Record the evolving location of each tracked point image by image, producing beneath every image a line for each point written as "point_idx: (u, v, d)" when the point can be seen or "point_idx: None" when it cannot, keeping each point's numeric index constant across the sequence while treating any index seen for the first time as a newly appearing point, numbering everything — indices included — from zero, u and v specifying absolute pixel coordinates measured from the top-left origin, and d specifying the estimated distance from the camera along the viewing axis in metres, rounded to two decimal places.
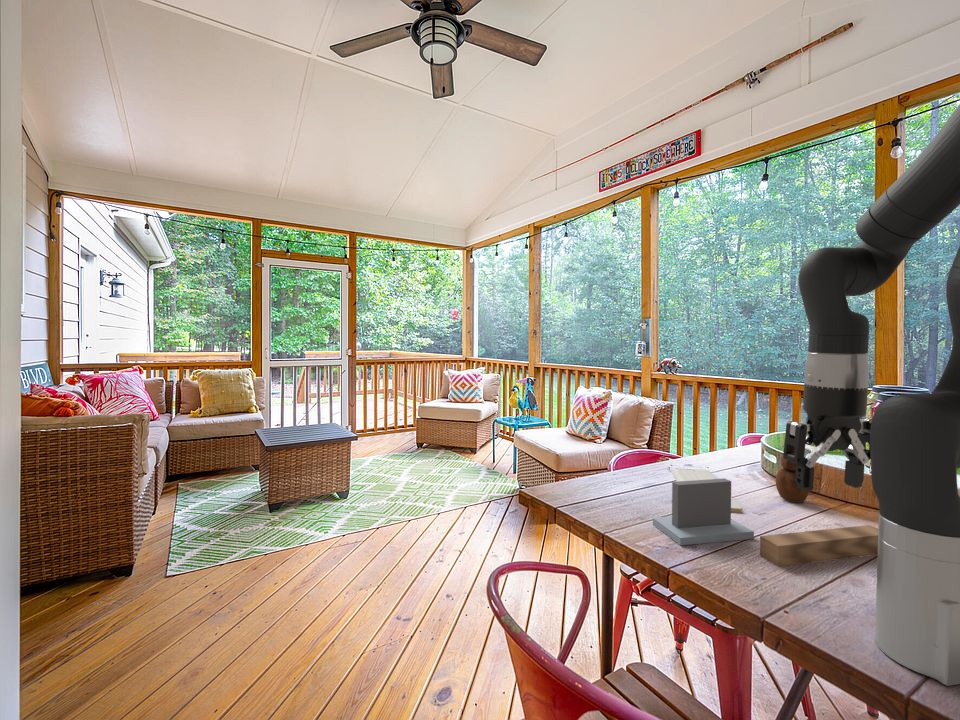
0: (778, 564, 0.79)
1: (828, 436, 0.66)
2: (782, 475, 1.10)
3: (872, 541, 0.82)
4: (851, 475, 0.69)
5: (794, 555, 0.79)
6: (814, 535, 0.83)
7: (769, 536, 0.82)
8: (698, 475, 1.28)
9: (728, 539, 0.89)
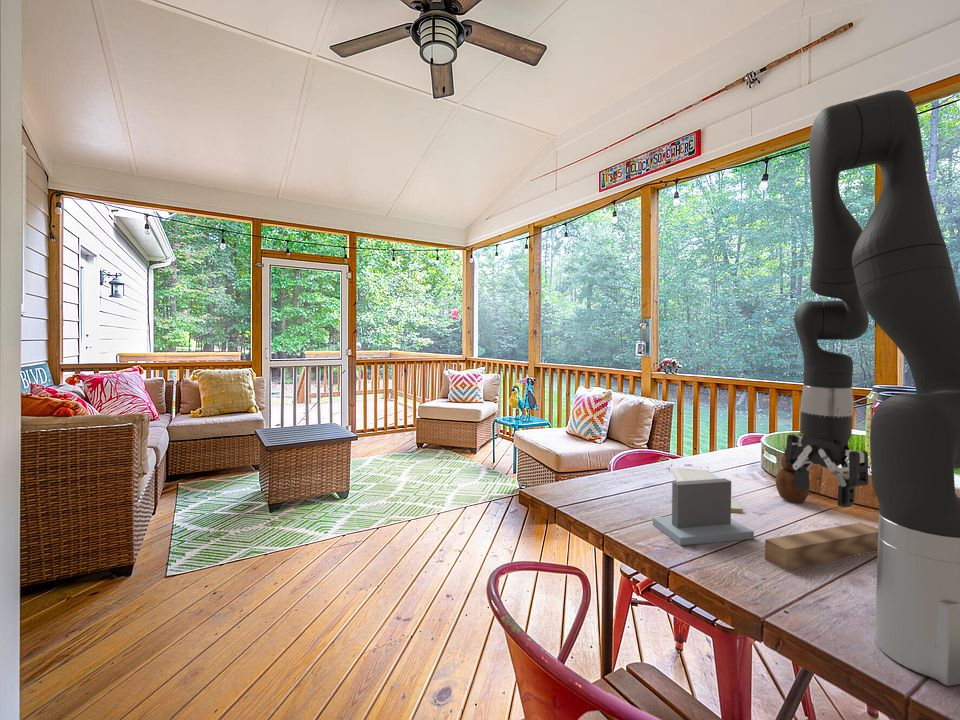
0: (786, 568, 0.78)
1: None
2: (782, 475, 1.10)
3: (868, 539, 0.83)
4: (803, 481, 0.87)
5: (800, 557, 0.79)
6: (815, 535, 0.82)
7: (774, 539, 0.81)
8: (698, 475, 1.28)
9: (728, 539, 0.89)
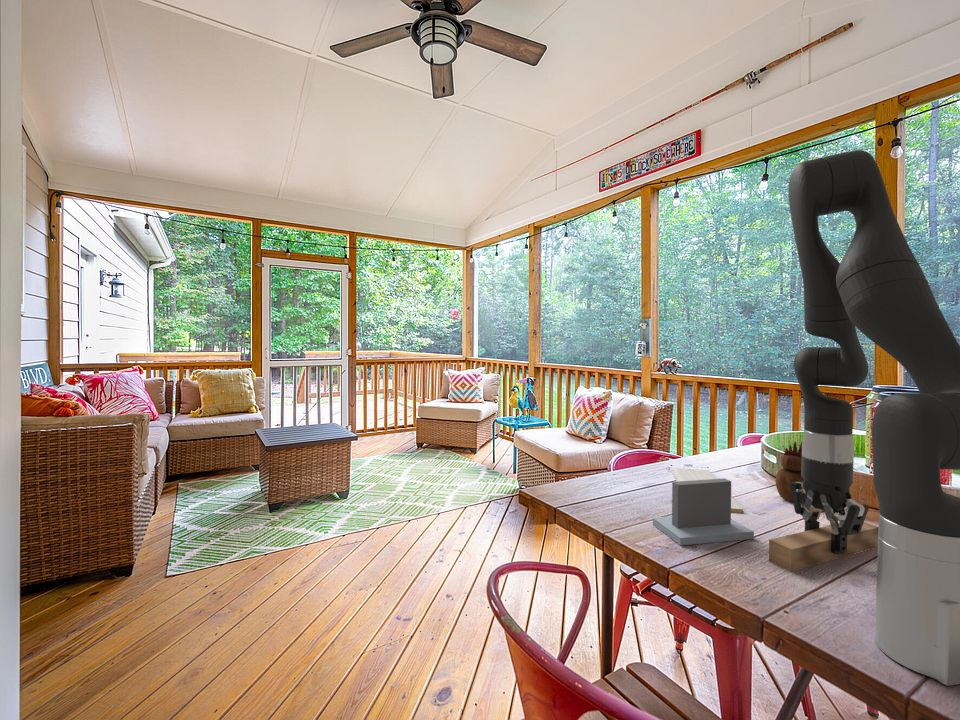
0: (791, 568, 0.77)
1: None
2: (782, 475, 1.10)
3: (865, 536, 0.84)
4: None
5: (804, 557, 0.78)
6: (816, 534, 0.82)
7: (777, 539, 0.81)
8: (698, 475, 1.28)
9: (728, 539, 0.89)
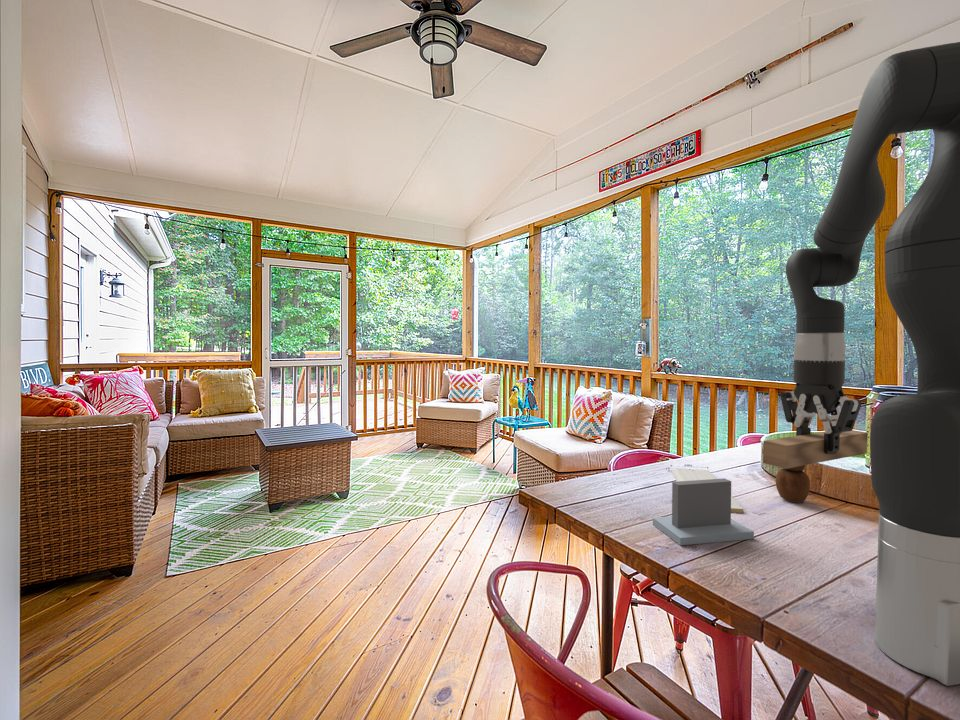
0: (786, 464, 0.76)
1: None
2: (782, 475, 1.10)
3: (855, 440, 0.84)
4: None
5: (798, 454, 0.78)
6: (808, 437, 0.82)
7: (771, 440, 0.80)
8: (698, 475, 1.28)
9: (728, 539, 0.89)
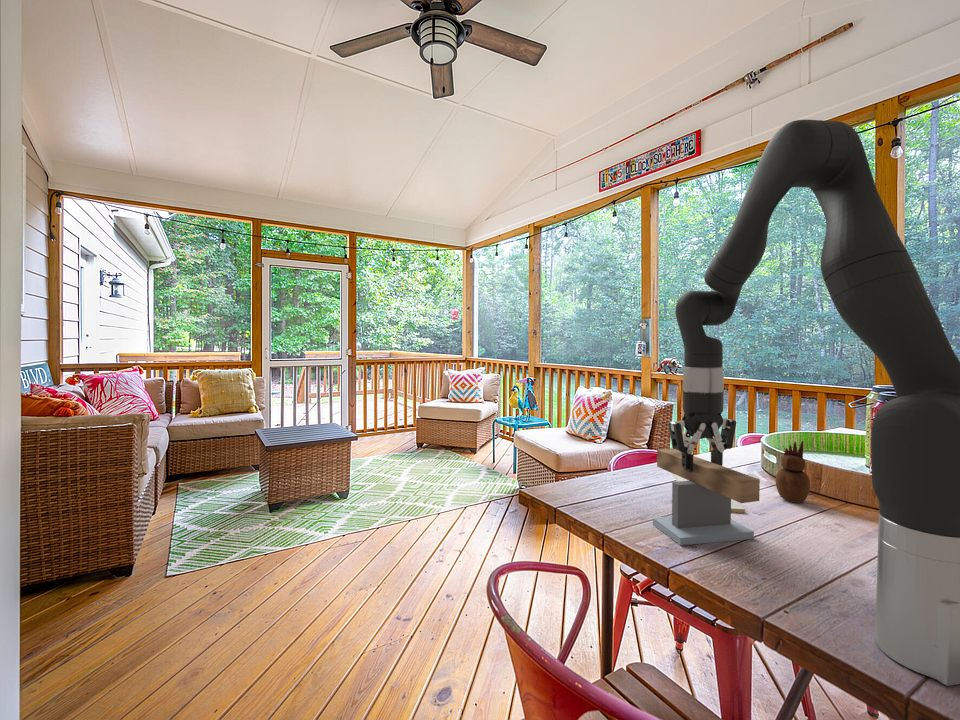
0: (758, 497, 0.82)
1: None
2: (782, 475, 1.10)
3: None
4: None
5: None
6: (708, 465, 0.91)
7: (737, 478, 0.82)
8: None
9: (728, 539, 0.89)
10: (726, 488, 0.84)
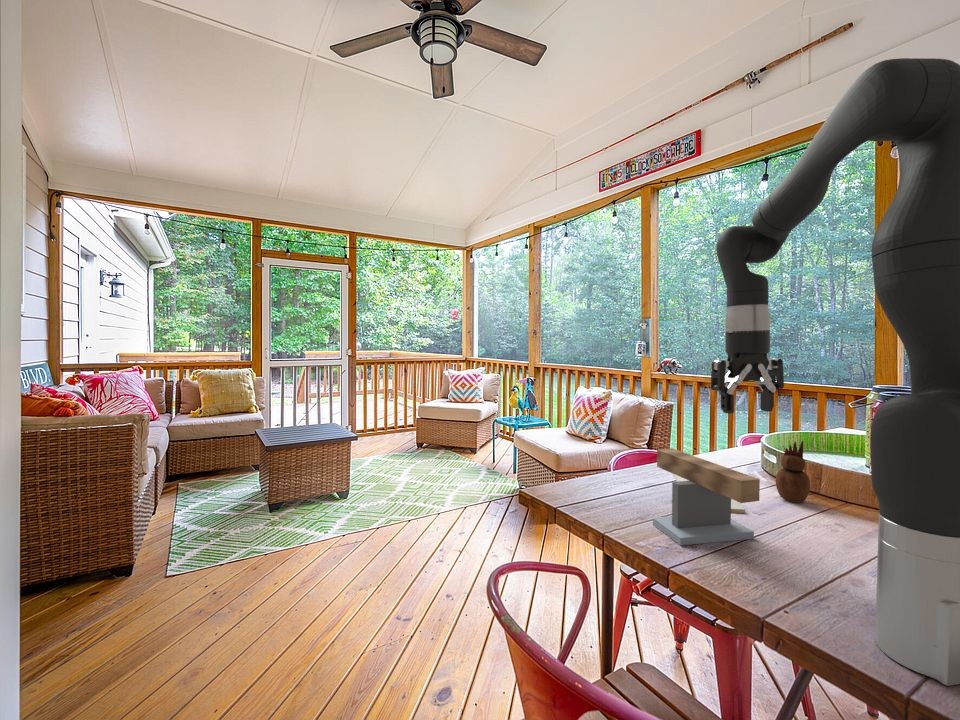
0: (758, 497, 0.82)
1: None
2: (782, 475, 1.10)
3: None
4: None
5: None
6: (708, 465, 0.91)
7: (737, 478, 0.82)
8: None
9: (728, 539, 0.89)
10: (726, 488, 0.84)
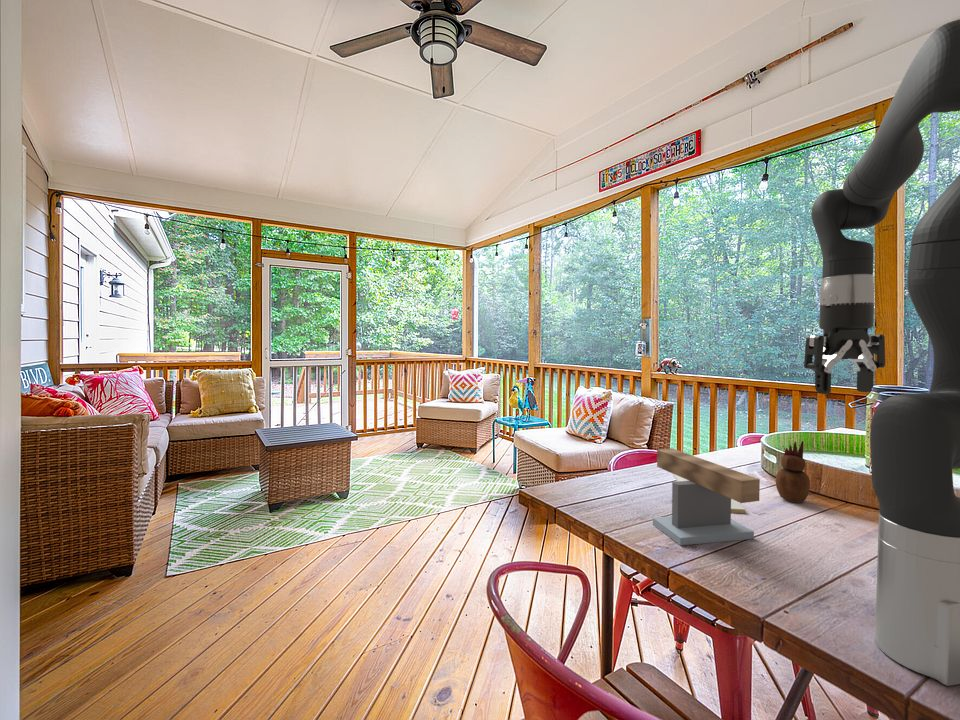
0: (758, 497, 0.82)
1: None
2: (782, 475, 1.10)
3: None
4: None
5: None
6: (708, 465, 0.91)
7: (737, 478, 0.82)
8: None
9: (728, 539, 0.89)
10: (726, 488, 0.84)
